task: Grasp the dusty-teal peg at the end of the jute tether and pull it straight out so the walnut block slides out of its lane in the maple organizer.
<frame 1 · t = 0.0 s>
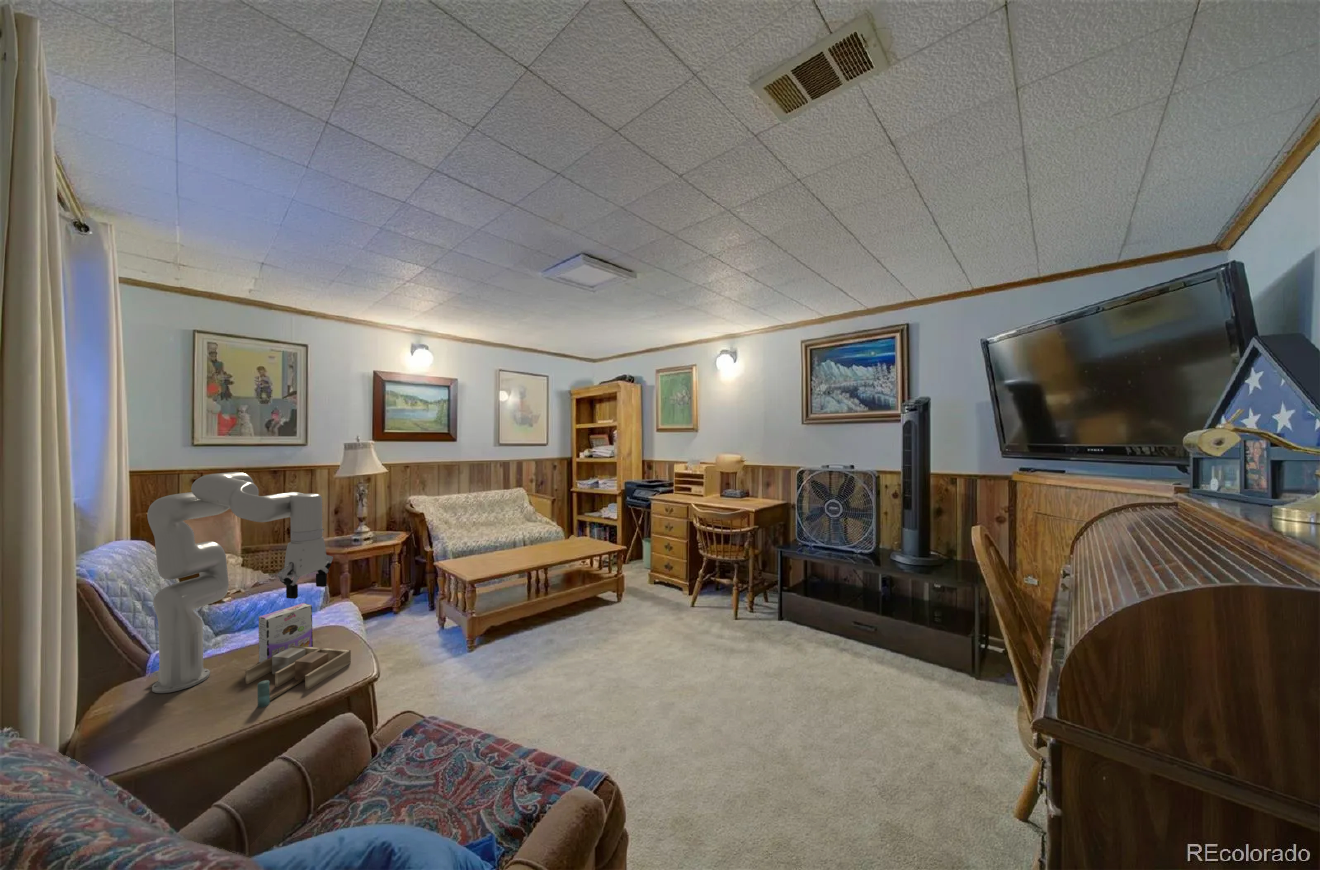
hand: (307, 591, 136), 31 cm above the table, fingers open, 9 cm apart
tethered block: (291, 678, 139), point 4 cm above the table, slide at 0.0 cm
candy box: (286, 656, 160), on the table
lane organizer: (300, 675, 148), on the table
grey block: (289, 670, 149), point 1 cm above the table, touching lane organizer
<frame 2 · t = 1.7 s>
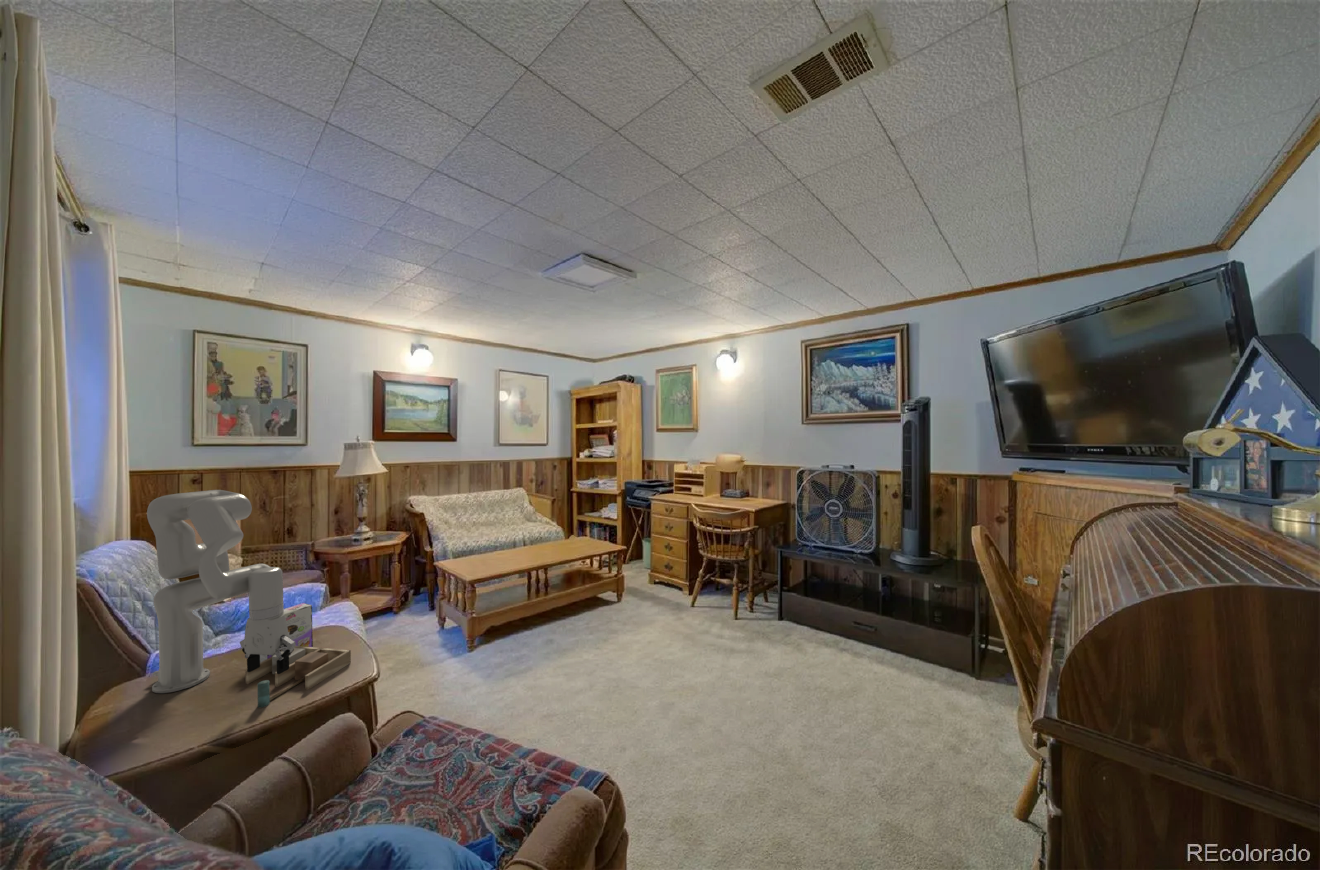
hand: (268, 670, 131), 10 cm above the table, fingers open, 9 cm apart
nothing on the table moved.
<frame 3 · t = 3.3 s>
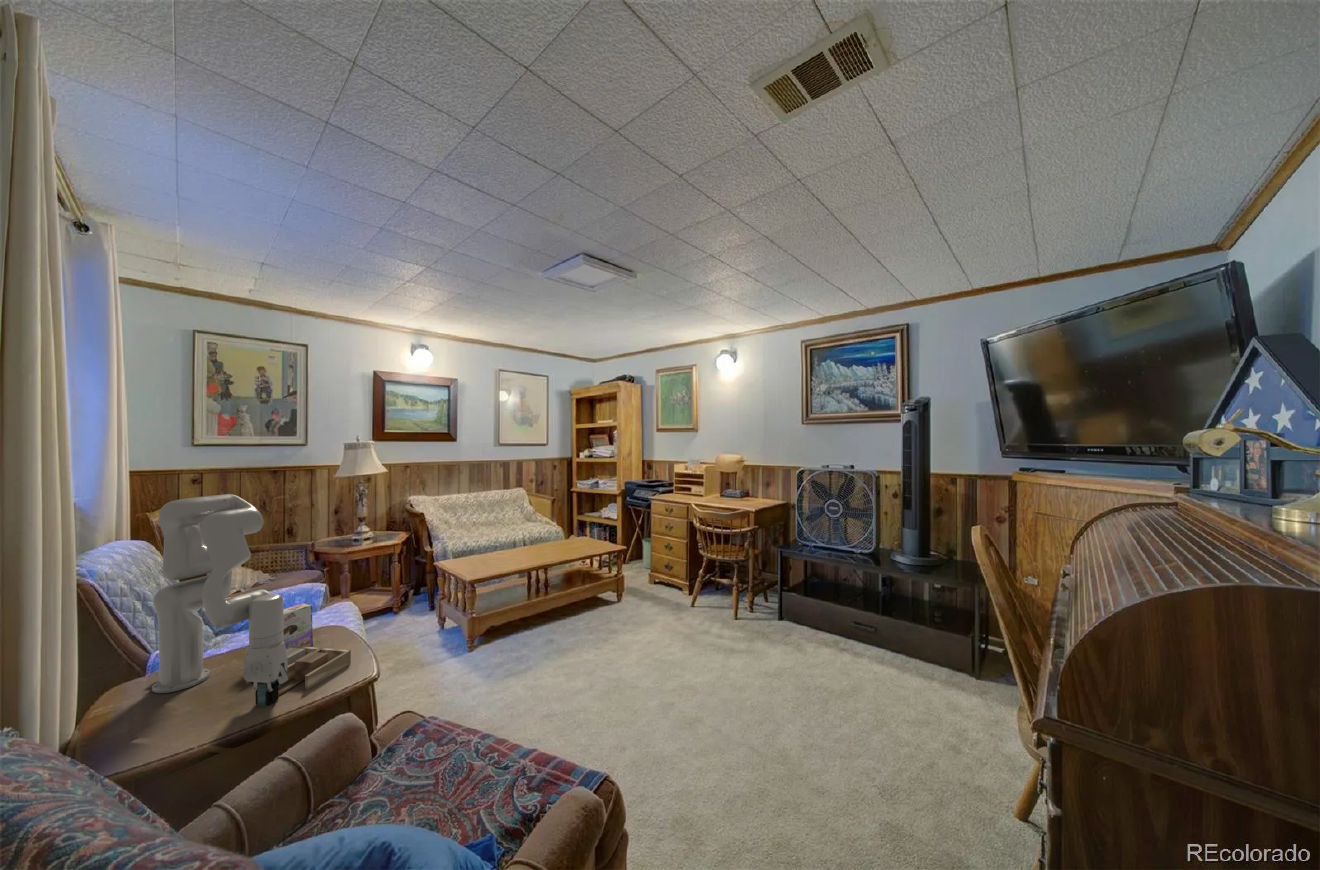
hand: (267, 701, 131), 1 cm above the table, fingers closed on tethered block, 2 cm apart
tethered block: (291, 678, 139), point 4 cm above the table, slide at 0.0 cm, touching gripper
everything else where it was.
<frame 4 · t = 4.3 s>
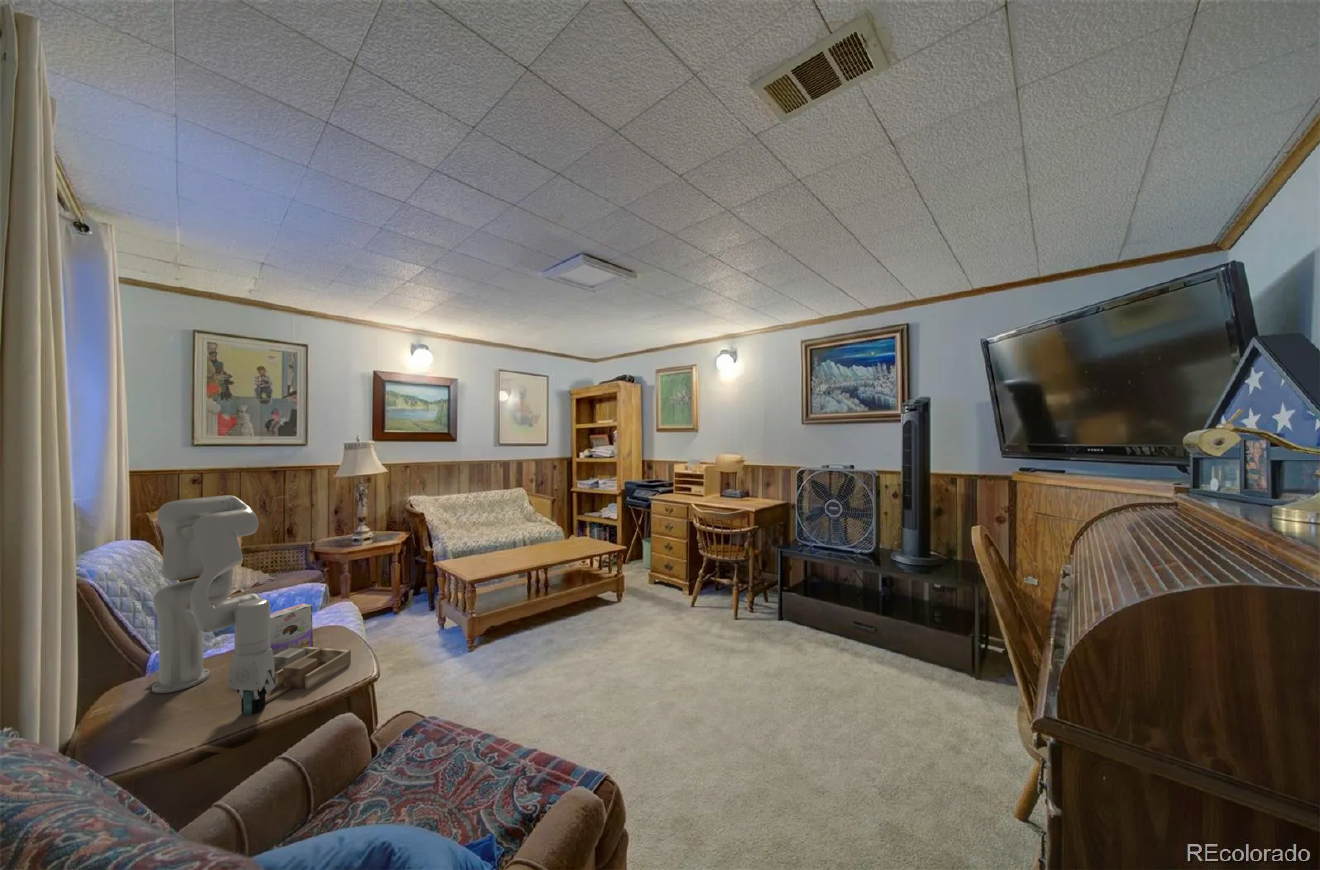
hand: (253, 709, 128), 1 cm above the table, fingers closed on tethered block, 2 cm apart
tethered block: (279, 685, 135), point 4 cm above the table, slide at 3.9 cm, touching gripper
everything else where it was.
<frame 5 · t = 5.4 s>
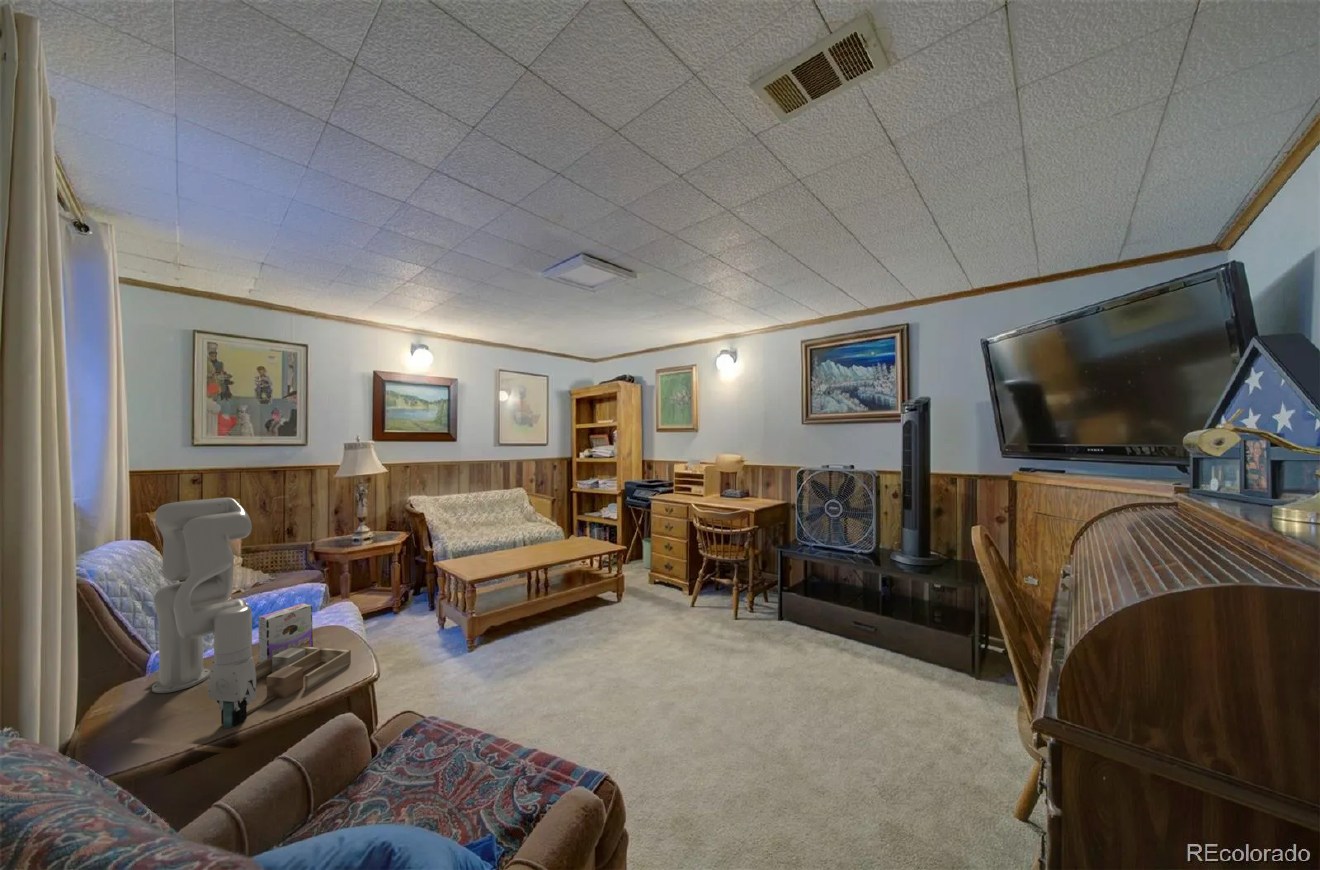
hand: (234, 721, 123), 1 cm above the table, fingers closed on tethered block, 2 cm apart
tethered block: (262, 695, 130), point 4 cm above the table, slide at 9.0 cm, touching gripper
everything else where it was.
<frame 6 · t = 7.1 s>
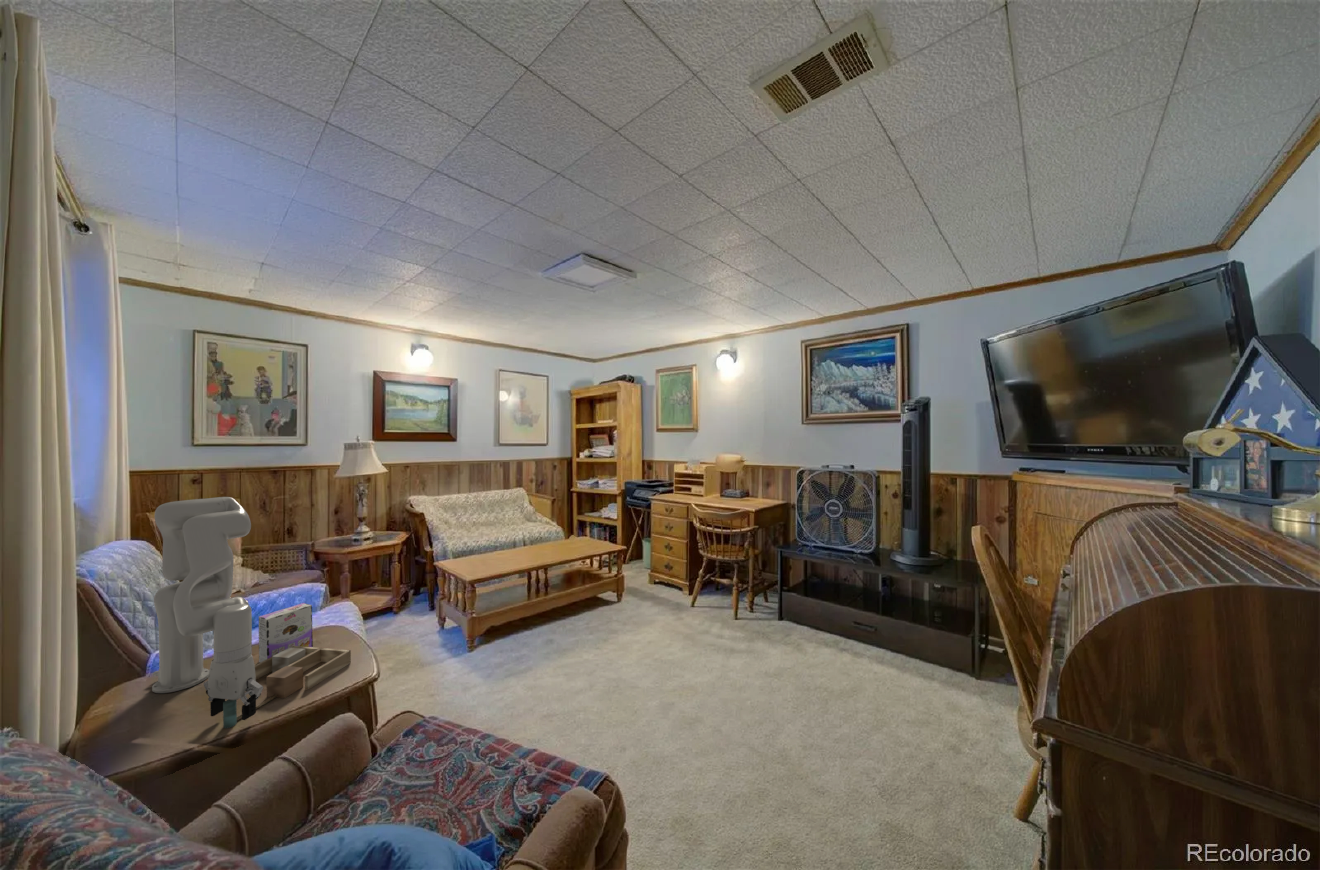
hand: (233, 714, 123), 3 cm above the table, fingers open, 9 cm apart
tethered block: (262, 695, 130), point 4 cm above the table, slide at 9.0 cm
everything else where it was.
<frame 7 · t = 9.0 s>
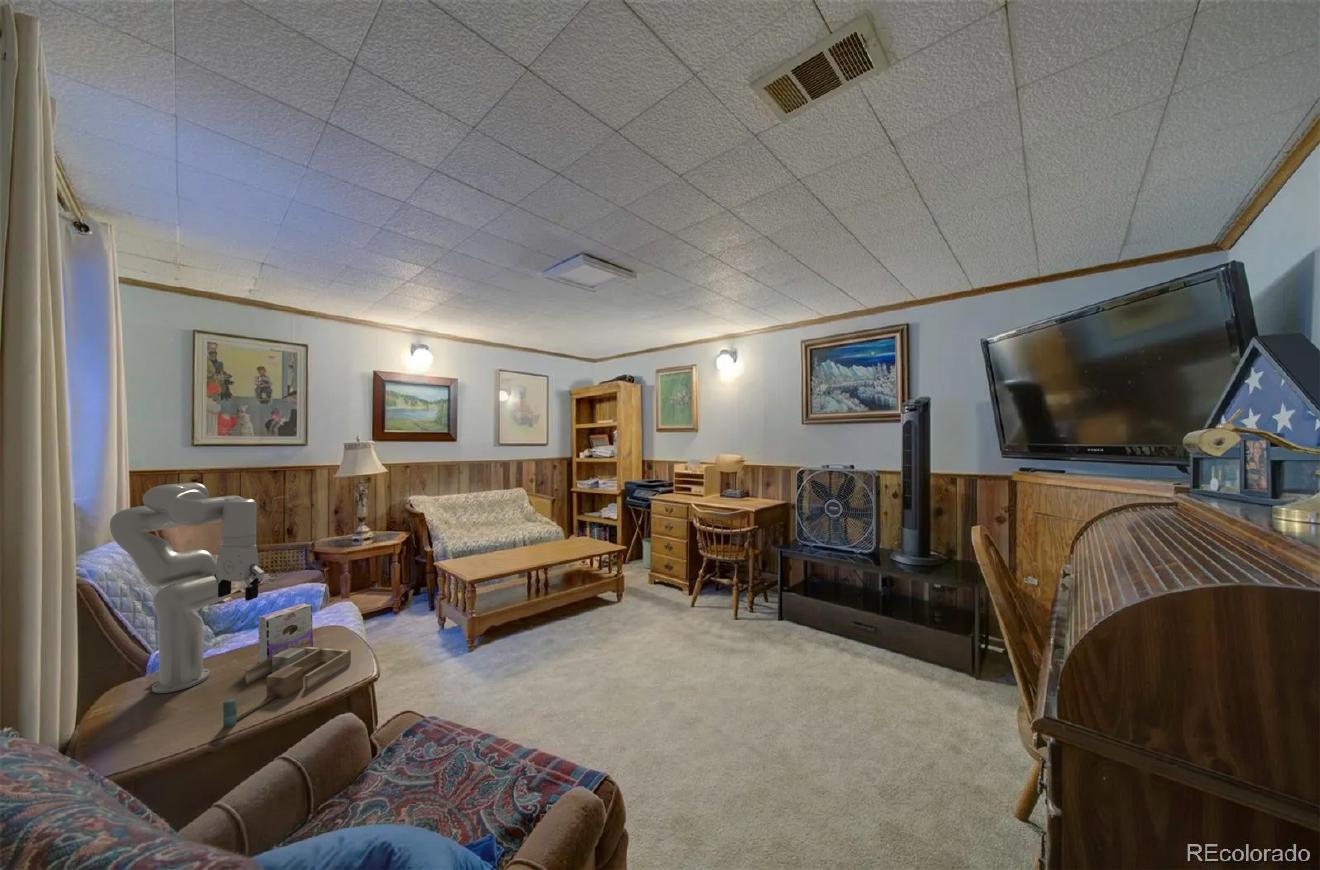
hand: (238, 597, 136), 30 cm above the table, fingers open, 9 cm apart
nothing on the table moved.
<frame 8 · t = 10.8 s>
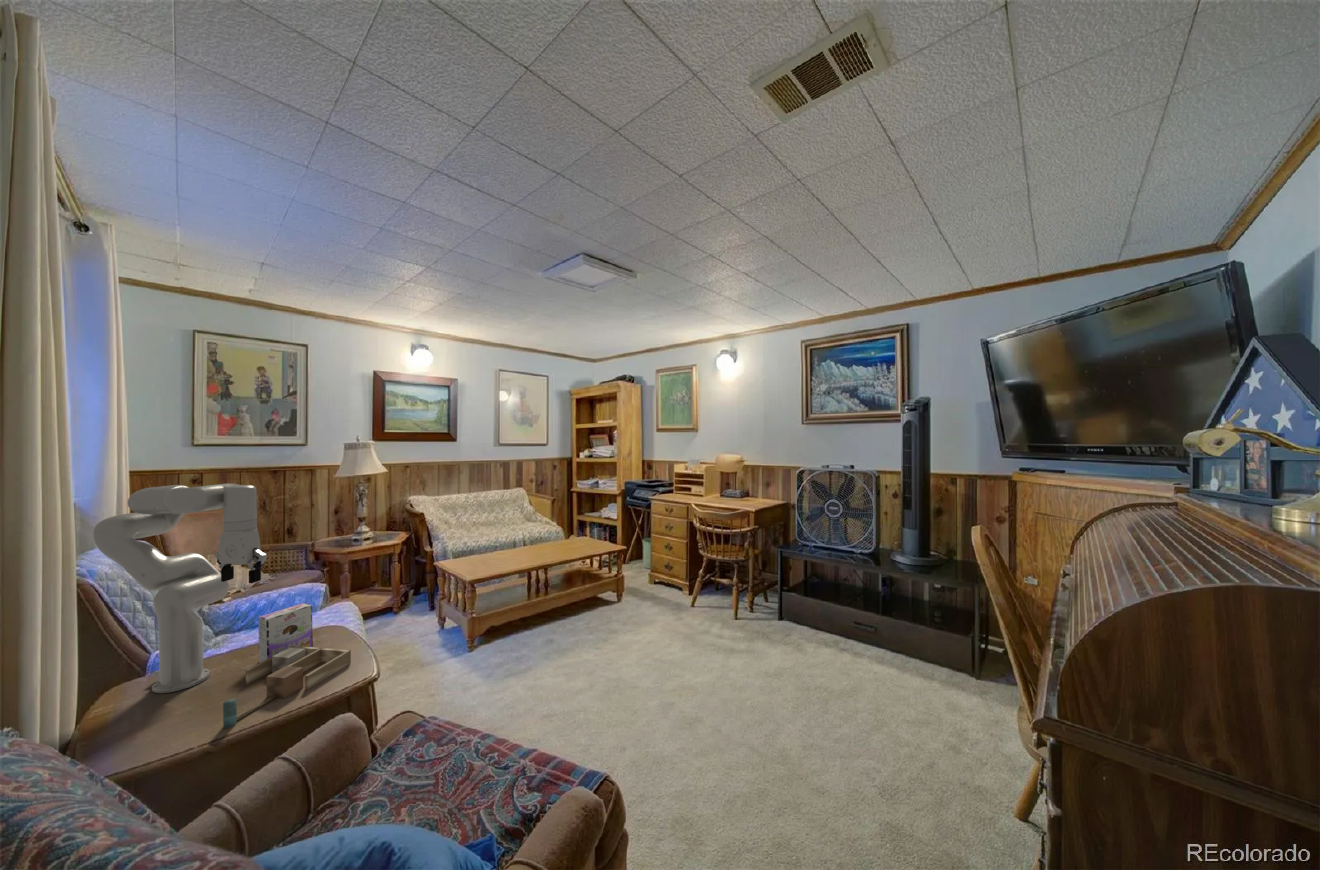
hand: (241, 581, 140), 33 cm above the table, fingers open, 9 cm apart
nothing on the table moved.
at the end: tethered block slide at 9.0 cm; tethered block inside the target area (4.0 cm from its centre), point 3.8 cm above the table; the gripper is holding nothing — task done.
